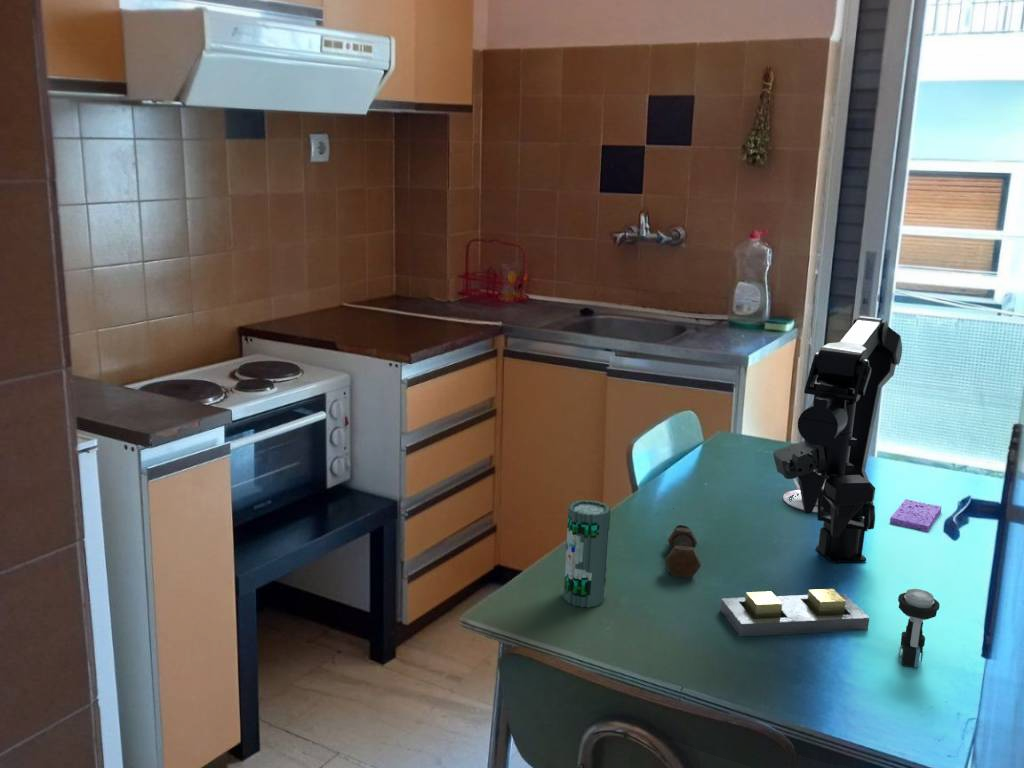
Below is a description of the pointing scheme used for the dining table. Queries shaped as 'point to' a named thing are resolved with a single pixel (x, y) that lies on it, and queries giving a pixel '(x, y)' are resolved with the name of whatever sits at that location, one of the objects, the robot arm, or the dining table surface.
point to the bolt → (682, 553)
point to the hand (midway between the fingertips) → (821, 524)
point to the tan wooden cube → (825, 602)
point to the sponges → (916, 515)
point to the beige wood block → (762, 605)
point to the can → (586, 553)
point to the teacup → (797, 498)
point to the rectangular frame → (793, 618)
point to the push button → (915, 623)
